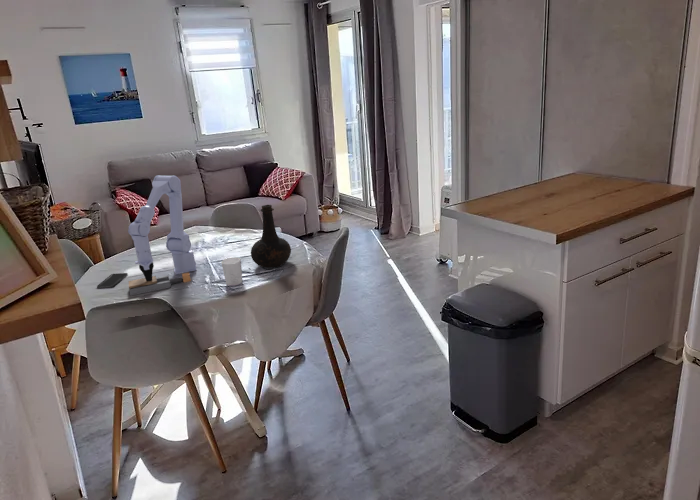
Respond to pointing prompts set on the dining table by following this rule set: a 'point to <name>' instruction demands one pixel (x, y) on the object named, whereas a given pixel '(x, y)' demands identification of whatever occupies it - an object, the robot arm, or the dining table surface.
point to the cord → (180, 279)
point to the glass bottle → (270, 244)
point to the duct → (151, 286)
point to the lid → (141, 282)
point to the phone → (112, 280)
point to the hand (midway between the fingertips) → (149, 280)
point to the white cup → (232, 271)
